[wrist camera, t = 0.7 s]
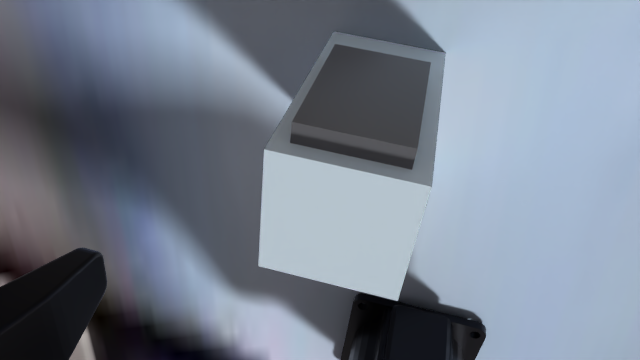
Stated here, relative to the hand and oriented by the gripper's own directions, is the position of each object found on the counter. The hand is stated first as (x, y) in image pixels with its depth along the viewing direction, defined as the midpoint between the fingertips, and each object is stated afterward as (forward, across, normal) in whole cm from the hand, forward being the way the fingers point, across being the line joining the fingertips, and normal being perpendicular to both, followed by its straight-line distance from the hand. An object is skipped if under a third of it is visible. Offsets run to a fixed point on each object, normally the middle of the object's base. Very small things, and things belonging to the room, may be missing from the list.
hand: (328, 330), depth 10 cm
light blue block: (+12, +1, +1) cm, 12 cm away
